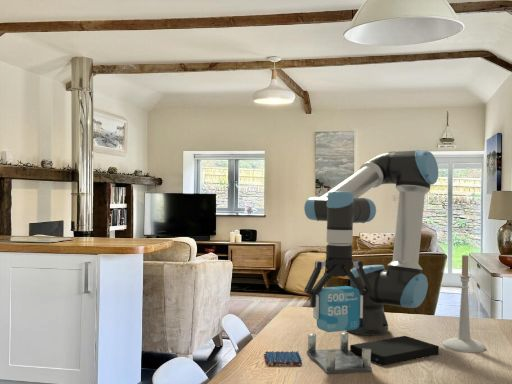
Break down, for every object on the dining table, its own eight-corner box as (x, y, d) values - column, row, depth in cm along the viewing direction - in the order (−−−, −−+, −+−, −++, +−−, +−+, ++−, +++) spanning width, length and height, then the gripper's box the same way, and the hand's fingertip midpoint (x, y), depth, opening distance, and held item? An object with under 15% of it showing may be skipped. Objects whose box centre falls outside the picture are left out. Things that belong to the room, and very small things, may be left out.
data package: (324, 333, 161) (325, 290, 161) (316, 329, 166) (316, 287, 166) (359, 329, 167) (360, 287, 167) (350, 325, 171) (351, 285, 171)
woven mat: (263, 357, 172) (263, 350, 172) (298, 357, 173) (298, 350, 173) (265, 368, 162) (265, 360, 162) (302, 368, 162) (302, 361, 162)
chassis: (346, 351, 178) (347, 332, 177) (372, 371, 158) (372, 350, 158) (306, 353, 175) (306, 333, 175) (327, 374, 156) (327, 352, 155)
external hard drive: (438, 355, 176) (438, 346, 176) (382, 367, 164) (383, 356, 164) (404, 344, 188) (404, 335, 188) (349, 354, 176) (350, 344, 176)
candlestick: (475, 355, 176) (477, 257, 175) (436, 346, 184) (437, 253, 184) (491, 346, 185) (492, 254, 185) (453, 339, 194) (454, 250, 193)
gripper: (374, 243, 172) (372, 314, 172) (294, 243, 167) (293, 316, 167) (384, 245, 165) (383, 319, 165) (301, 245, 160) (300, 321, 160)
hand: (337, 317), depth 166 cm, fingers closed on data package, 13 cm apart
